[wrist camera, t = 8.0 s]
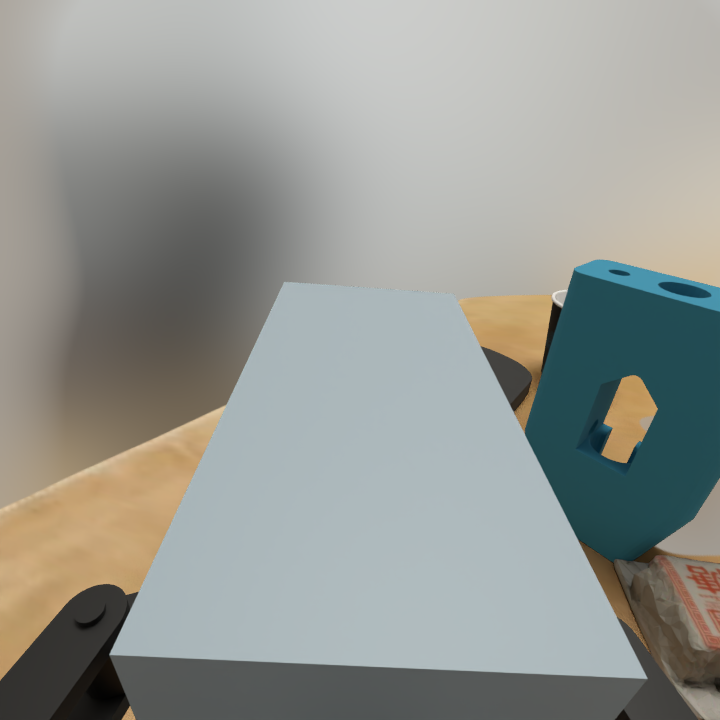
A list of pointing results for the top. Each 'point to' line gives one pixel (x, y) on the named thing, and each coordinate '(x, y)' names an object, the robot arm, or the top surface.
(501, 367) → the media streaming box
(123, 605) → the robot arm
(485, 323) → the top surface
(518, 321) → the top surface
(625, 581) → the packaged product
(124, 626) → the grey rectangular box
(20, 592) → the top surface
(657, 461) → the block
